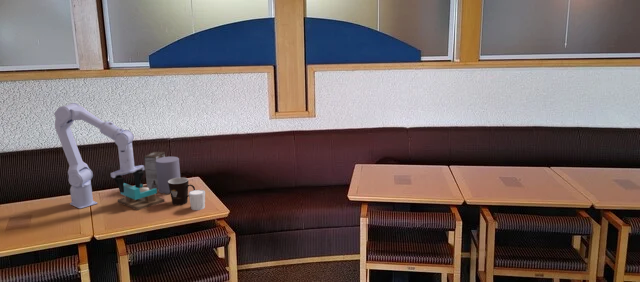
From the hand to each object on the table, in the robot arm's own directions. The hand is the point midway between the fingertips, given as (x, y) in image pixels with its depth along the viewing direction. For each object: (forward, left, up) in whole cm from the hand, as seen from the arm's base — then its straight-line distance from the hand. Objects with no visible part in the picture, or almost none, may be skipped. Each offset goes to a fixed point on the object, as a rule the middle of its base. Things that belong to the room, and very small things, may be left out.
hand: (129, 189), depth 225 cm
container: (-3, +22, -7) cm, 23 cm away
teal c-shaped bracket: (0, +4, -3) cm, 5 cm away
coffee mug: (+16, +14, -7) cm, 23 cm away
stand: (0, +5, -7) cm, 8 cm away
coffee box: (-13, +22, -7) cm, 26 cm away
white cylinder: (+26, +16, -7) cm, 31 cm away
